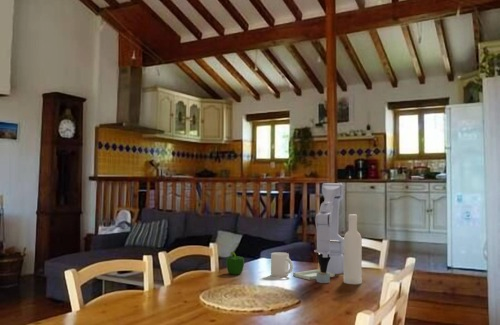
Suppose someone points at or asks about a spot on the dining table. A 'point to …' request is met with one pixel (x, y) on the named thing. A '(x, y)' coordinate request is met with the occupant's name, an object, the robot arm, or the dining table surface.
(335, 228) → the robot arm
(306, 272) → the tray
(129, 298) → the dining table surface
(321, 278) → the cup
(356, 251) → the bottle
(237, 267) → the bell pepper
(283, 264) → the mug
